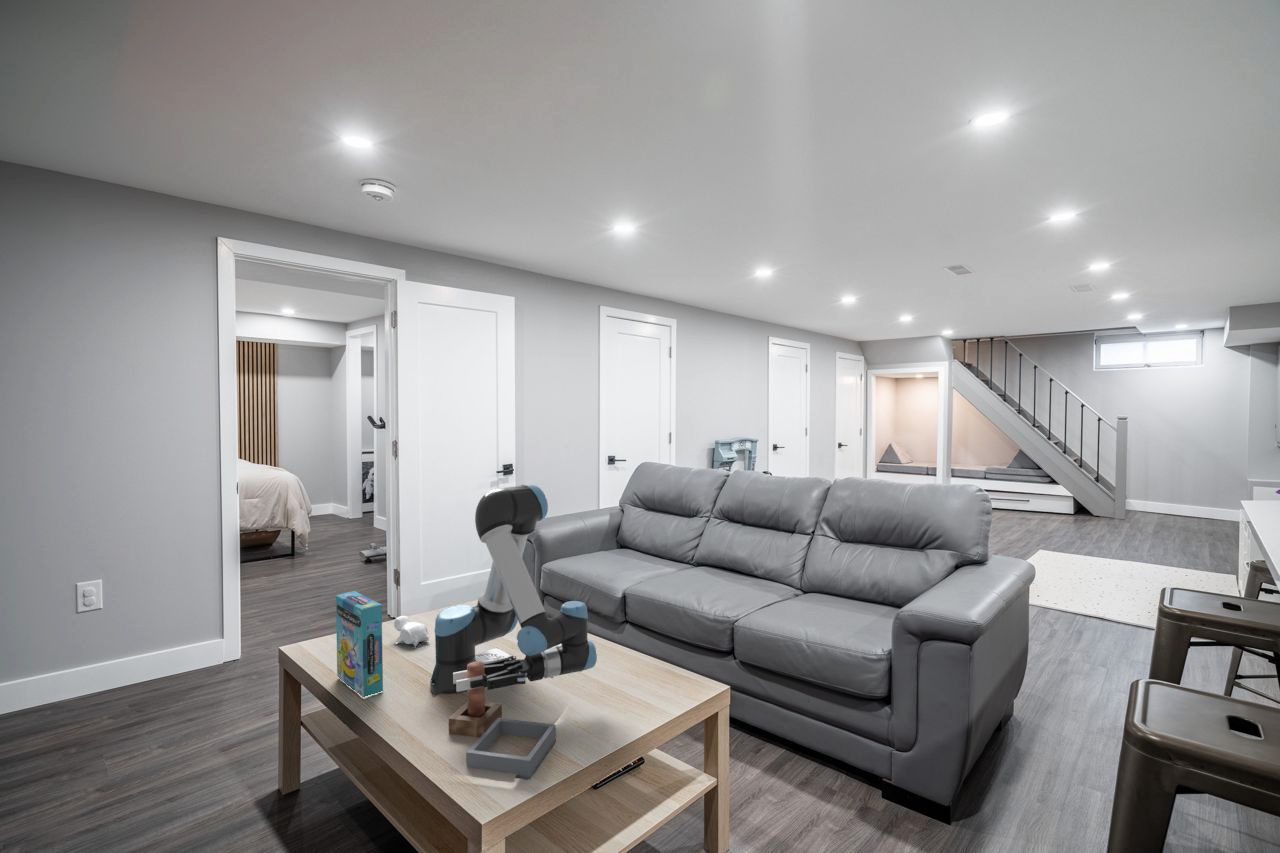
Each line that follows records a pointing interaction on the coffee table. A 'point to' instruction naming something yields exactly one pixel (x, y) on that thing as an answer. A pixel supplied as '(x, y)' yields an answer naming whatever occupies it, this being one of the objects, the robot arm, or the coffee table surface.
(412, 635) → the white animal figurine
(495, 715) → the socket block
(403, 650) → the coffee table surface
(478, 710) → the dowel
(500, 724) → the tray
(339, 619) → the game box
